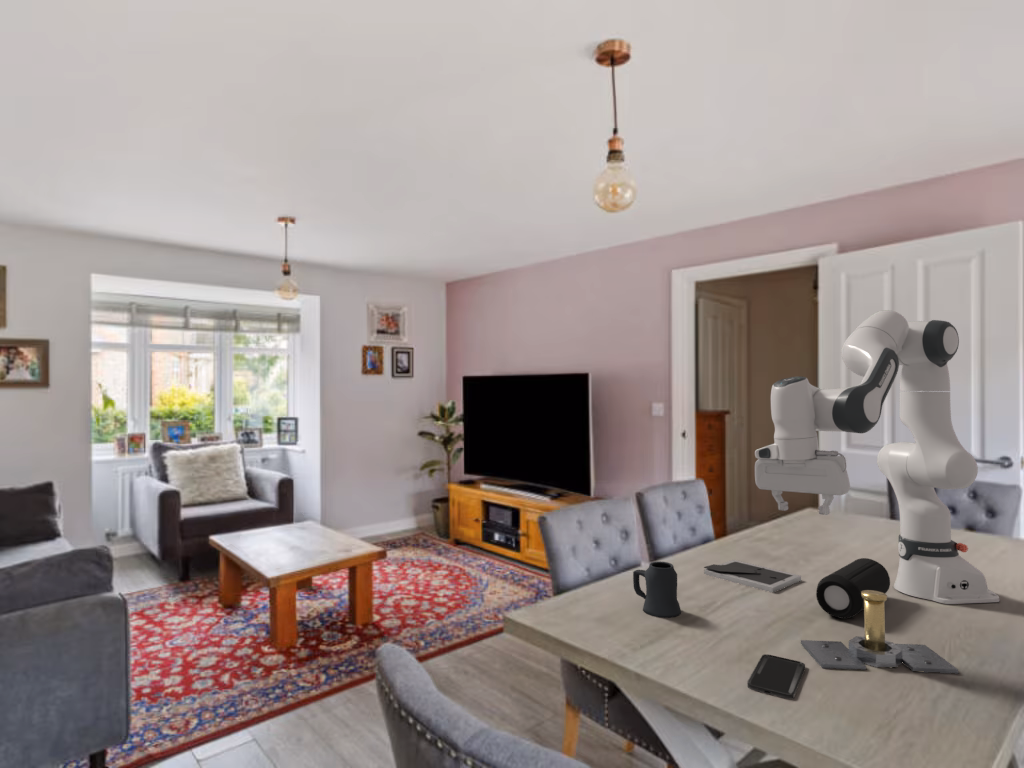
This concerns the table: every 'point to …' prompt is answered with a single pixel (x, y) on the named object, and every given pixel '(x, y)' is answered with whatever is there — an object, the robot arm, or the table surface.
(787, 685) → the phone
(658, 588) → the mug
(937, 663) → the hinge body
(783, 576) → the picture frame
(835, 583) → the portable speaker
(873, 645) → the pin
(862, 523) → the table surface
